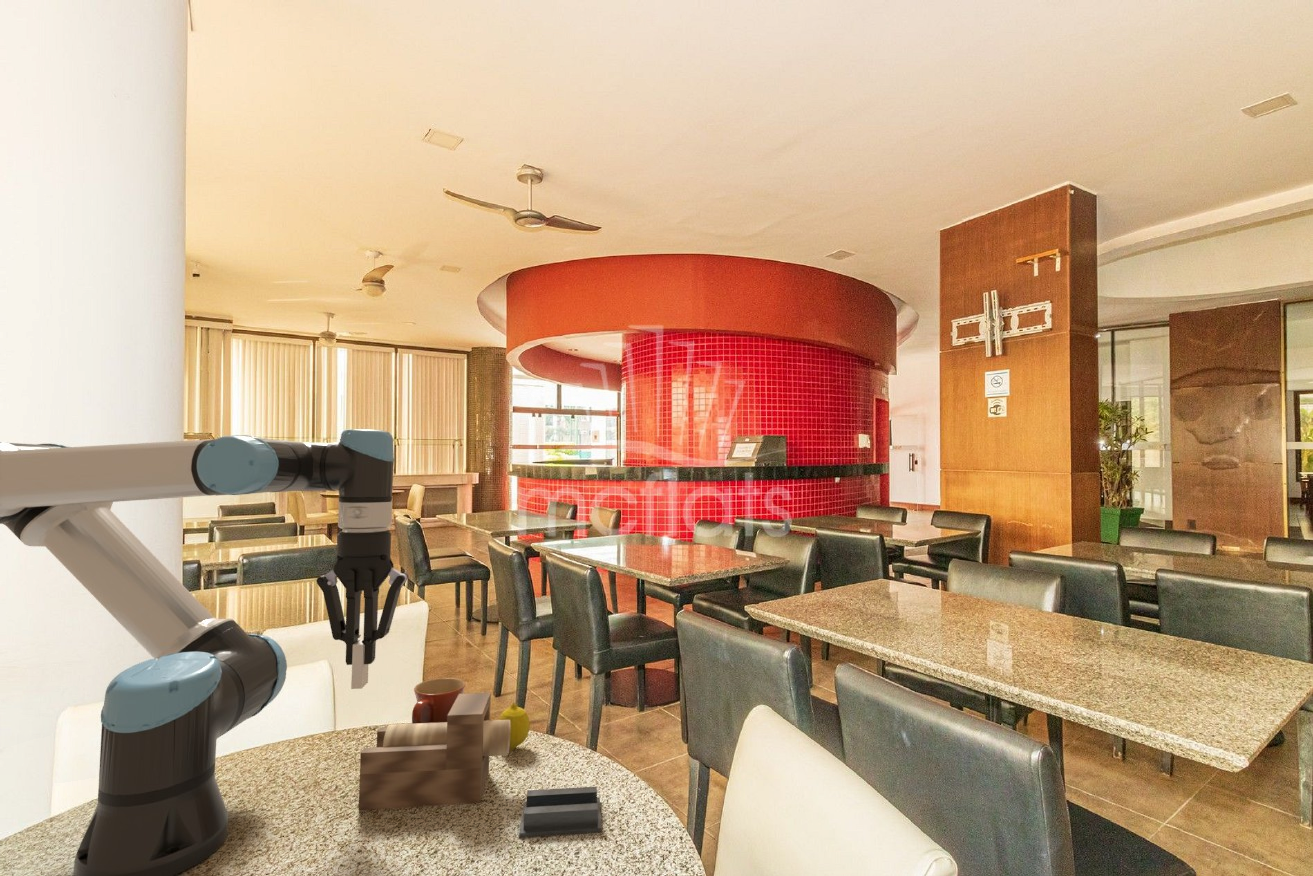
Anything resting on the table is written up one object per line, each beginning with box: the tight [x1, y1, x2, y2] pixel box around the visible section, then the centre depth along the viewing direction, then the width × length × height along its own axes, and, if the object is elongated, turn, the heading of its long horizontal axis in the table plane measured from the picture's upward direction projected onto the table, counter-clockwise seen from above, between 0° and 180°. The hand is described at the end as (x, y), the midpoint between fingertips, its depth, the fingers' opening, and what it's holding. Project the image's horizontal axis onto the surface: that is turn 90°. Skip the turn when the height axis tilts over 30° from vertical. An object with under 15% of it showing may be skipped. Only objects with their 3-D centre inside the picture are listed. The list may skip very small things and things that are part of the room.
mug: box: [411, 677, 466, 724], centre depth 108 cm, size 12×9×10 cm
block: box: [358, 692, 492, 811], centre depth 94 cm, size 17×9×13 cm, turn 97°
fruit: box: [498, 702, 531, 751], centre depth 108 cm, size 6×6×8 cm
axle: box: [383, 719, 511, 757], centre depth 94 cm, size 18×5×5 cm, turn 97°
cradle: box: [518, 786, 603, 839], centre depth 86 cm, size 11×8×3 cm
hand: (359, 685), depth 93 cm, fingers closed
